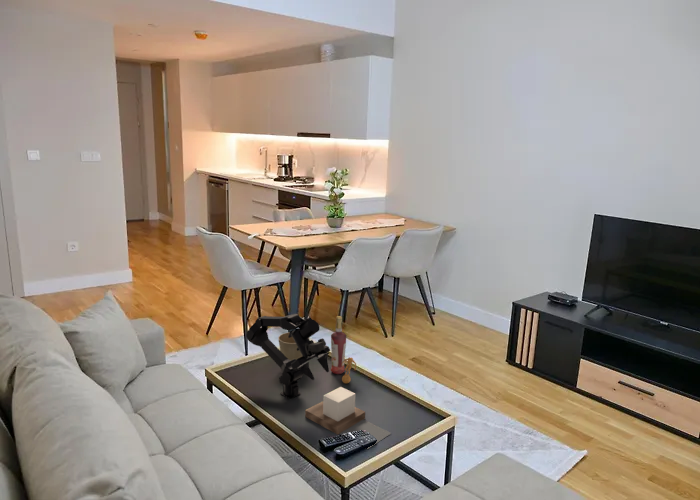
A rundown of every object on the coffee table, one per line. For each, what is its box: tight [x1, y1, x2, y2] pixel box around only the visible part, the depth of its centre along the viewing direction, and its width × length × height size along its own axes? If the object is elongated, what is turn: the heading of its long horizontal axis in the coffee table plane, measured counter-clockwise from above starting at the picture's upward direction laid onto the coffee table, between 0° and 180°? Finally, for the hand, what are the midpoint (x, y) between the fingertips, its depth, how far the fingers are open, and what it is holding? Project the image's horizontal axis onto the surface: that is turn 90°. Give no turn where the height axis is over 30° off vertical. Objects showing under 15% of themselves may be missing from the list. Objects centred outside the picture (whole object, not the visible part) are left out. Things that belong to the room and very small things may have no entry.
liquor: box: [330, 315, 347, 375], centre depth 241 cm, size 7×7×28 cm
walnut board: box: [304, 401, 366, 435], centre depth 205 cm, size 18×16×3 cm
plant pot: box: [278, 331, 311, 360], centre depth 246 cm, size 15×15×16 cm
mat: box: [339, 419, 392, 450], centre depth 195 cm, size 14×14×1 cm
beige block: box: [322, 386, 356, 421], centre depth 202 cm, size 8×10×8 cm
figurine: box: [341, 357, 357, 384], centre depth 234 cm, size 8×6×12 cm
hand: (320, 375), depth 209 cm, fingers open, 9 cm apart
